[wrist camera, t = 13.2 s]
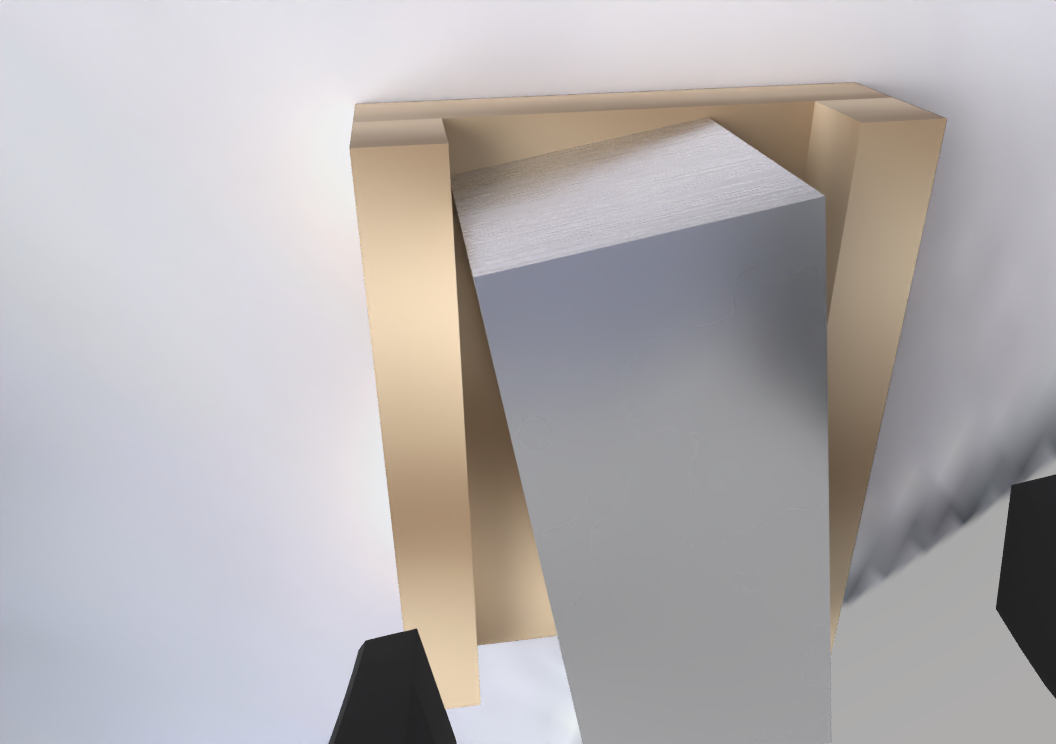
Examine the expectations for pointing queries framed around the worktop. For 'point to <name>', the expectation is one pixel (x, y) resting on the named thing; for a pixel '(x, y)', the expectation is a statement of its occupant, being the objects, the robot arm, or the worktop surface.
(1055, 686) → the robot arm
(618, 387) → the tall gray pillar
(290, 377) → the worktop surface
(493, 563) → the rack
